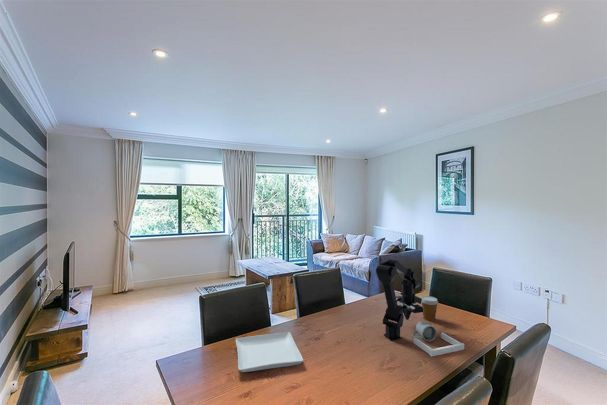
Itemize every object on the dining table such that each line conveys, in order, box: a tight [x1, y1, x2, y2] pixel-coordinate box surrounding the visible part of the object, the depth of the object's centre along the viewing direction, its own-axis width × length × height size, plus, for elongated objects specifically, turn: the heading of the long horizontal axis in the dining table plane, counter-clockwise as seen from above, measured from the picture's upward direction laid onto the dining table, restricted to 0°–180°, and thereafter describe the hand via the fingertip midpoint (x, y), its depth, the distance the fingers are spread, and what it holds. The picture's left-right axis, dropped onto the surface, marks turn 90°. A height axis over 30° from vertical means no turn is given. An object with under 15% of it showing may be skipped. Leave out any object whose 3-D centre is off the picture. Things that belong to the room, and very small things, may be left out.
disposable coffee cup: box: [420, 295, 439, 322], centre depth 173 cm, size 10×10×12 cm
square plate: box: [235, 331, 304, 373], centre depth 133 cm, size 27×27×4 cm
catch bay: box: [413, 332, 465, 357], centre depth 141 cm, size 19×13×2 cm, turn 109°
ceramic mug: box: [411, 320, 438, 342], centre depth 150 cm, size 11×8×8 cm
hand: (407, 319), depth 162 cm, fingers closed
